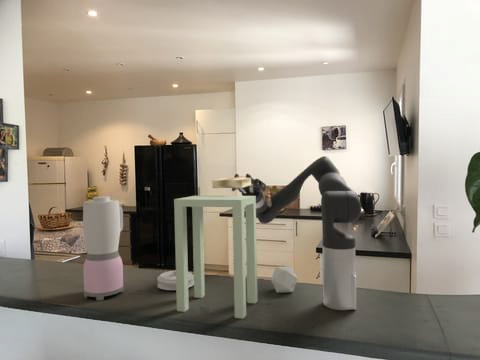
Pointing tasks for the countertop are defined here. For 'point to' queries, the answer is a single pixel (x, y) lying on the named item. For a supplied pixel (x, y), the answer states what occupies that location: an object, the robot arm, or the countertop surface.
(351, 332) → the countertop surface
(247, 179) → the cheese board
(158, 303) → the countertop surface
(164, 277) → the lid
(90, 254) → the blender
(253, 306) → the countertop surface
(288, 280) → the die
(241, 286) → the mint green side table
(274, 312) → the countertop surface
